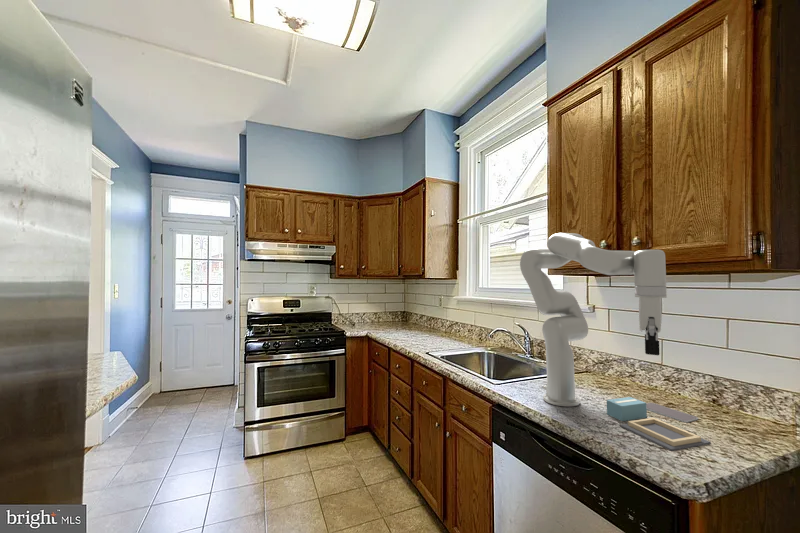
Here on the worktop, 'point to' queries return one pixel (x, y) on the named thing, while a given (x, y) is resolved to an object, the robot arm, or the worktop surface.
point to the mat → (664, 434)
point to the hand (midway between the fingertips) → (652, 351)
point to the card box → (626, 408)
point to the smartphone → (670, 413)
